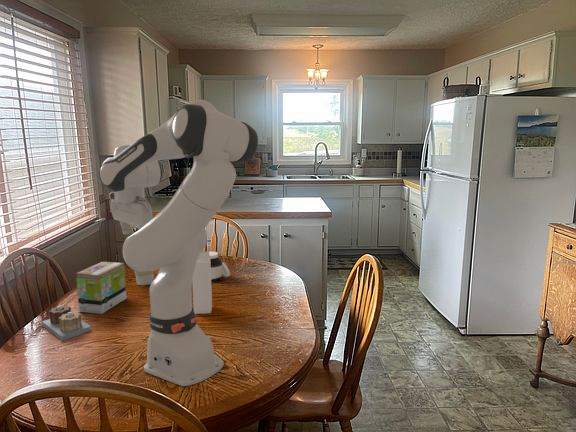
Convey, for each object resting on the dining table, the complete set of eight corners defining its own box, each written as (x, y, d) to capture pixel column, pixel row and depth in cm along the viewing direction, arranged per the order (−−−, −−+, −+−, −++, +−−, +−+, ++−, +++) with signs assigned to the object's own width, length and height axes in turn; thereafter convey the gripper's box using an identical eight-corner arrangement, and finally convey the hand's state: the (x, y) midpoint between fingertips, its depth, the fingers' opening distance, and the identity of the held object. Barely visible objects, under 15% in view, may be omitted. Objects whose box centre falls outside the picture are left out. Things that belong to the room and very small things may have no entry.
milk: (210, 313, 149) (208, 253, 144) (193, 314, 148) (190, 254, 143) (212, 306, 154) (210, 249, 150) (195, 307, 154) (193, 249, 149)
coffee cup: (160, 281, 181) (158, 247, 178) (143, 287, 173) (141, 252, 170) (146, 277, 186) (144, 244, 183) (129, 283, 178) (126, 249, 175)
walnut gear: (75, 318, 141) (74, 307, 140) (57, 325, 136) (56, 314, 135) (64, 315, 144) (63, 304, 143) (46, 321, 139) (45, 310, 138)
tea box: (103, 314, 148) (99, 274, 145) (78, 312, 150) (74, 272, 147) (127, 298, 162) (124, 262, 159) (104, 296, 164) (101, 260, 161)
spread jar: (196, 279, 183) (195, 254, 181) (214, 272, 192) (213, 248, 190) (217, 284, 177) (216, 258, 174) (234, 277, 186) (233, 251, 184)
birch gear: (85, 326, 135) (83, 315, 134) (65, 333, 130) (64, 321, 130) (76, 321, 139) (75, 310, 138) (57, 328, 134) (56, 316, 133)
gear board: (91, 330, 136) (89, 311, 134) (62, 340, 129) (60, 321, 128) (70, 316, 146) (68, 299, 145) (42, 325, 139) (40, 307, 138)
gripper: (156, 197, 133) (159, 239, 135) (124, 191, 146) (127, 230, 148) (138, 199, 128) (141, 243, 131) (106, 193, 141) (109, 233, 144)
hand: (133, 236), depth 140 cm, fingers open, 8 cm apart
